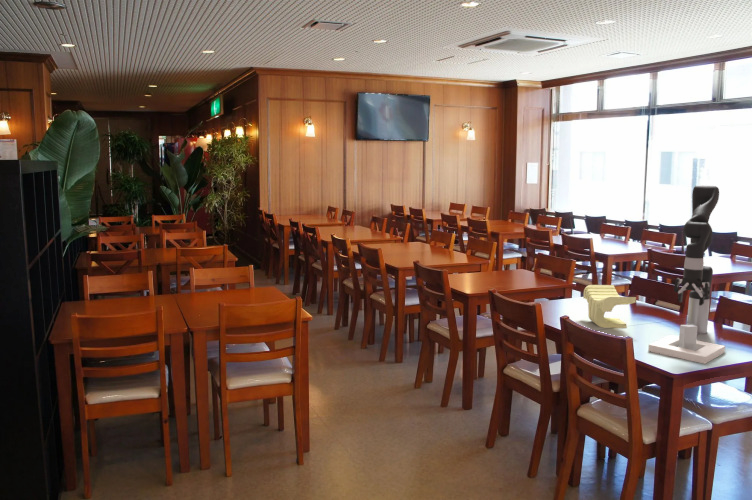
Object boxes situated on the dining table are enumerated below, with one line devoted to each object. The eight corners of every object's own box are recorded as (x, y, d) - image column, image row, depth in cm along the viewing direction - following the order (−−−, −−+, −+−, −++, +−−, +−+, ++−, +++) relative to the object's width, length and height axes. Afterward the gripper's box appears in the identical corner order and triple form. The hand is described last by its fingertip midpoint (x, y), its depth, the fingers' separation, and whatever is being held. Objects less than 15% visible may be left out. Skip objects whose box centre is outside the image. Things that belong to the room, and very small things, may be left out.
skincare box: (690, 350, 291) (692, 324, 289) (696, 353, 286) (698, 326, 284) (677, 350, 290) (679, 324, 288) (683, 353, 285) (685, 326, 284)
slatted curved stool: (582, 317, 349) (584, 284, 347) (611, 317, 349) (613, 285, 347) (601, 331, 320) (603, 296, 317) (633, 332, 320) (635, 297, 317)
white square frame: (669, 341, 305) (670, 334, 304) (724, 352, 288) (725, 345, 287) (648, 351, 288) (648, 344, 288) (704, 363, 271) (705, 356, 271)
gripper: (713, 268, 280) (710, 305, 282) (680, 264, 290) (677, 299, 293) (707, 270, 275) (704, 307, 277) (673, 266, 285) (670, 302, 287)
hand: (690, 303), depth 285 cm, fingers open, 8 cm apart
